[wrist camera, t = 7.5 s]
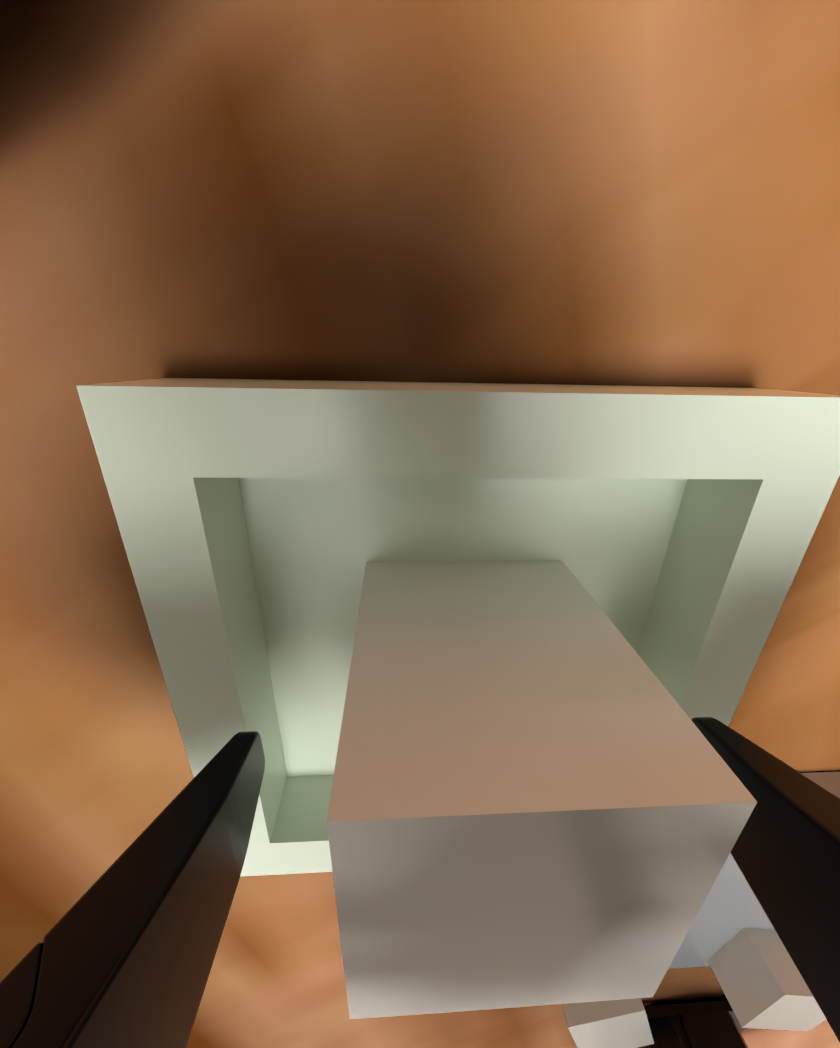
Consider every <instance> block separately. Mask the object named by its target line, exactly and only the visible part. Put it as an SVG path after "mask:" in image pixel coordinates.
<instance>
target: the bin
mask: <svg viewBox="0 0 840 1048" xmlns="http://www.w3.org/2000/svg"><path fill="white" fill-rule="evenodd" d="M76 387H77V391H78V394H79V397H80V401H81V404H82V407H83V411H84V414H85V417H86V421H87V424H88V427H89V431H90V434H91V437H92V441H93V444H94V447H95V451H96V454H97V457H98V460H99V464H100V467H101V470H102V474H103V477H104V480H105V484H106V487H107V490H108V494H109V497H110V500H111V504H112V507H113V510H114V514H115V517H116V520H117V524H118V527H119V530H120V534H121V537H122V540H123V544H124V547H125V550H126V554H127V557H128V560H129V564H130V567H131V570H132V574H133V577H134V580H135V584H136V587H137V590H138V594H139V597H140V600H141V604H142V607H143V610H144V614H145V617H146V620H147V624H148V627H149V630H150V634H151V637H152V640H153V644H154V647H155V650H156V654H157V657H158V660H159V664H160V667H161V670H162V674H163V677H164V680H165V683H166V687H167V690H168V693H169V697H170V700H171V703H172V707H173V710H174V713H175V717H176V720H177V723H178V727H179V730H180V733H181V737H182V740H183V743H184V747H185V750H186V753H187V757H188V760H189V763H190V767H191V770H192V773H193V777H195V776H196V775H197V774H198V773H199V772H200V771H201V770H202V769H203V768H204V767H205V766H206V765H207V764H208V763H209V761H210V760H211V759H212V758H213V757H214V756H215V755H216V754H217V753H218V752H219V751H220V750H221V749H222V748H223V747H224V746H225V745H226V743H227V742H228V741H229V740H230V739H231V738H232V737H233V736H234V735H235V734H237V733H238V732H245V731H257V732H259V734H260V736H261V741H262V746H263V751H264V756H265V770H264V775H263V780H262V784H261V789H260V793H259V798H258V803H257V807H256V812H255V816H254V821H253V826H252V830H251V835H250V839H249V844H248V848H247V853H246V857H245V861H244V865H243V868H242V872H241V875H240V876H259V875H278V874H297V873H317V872H333V871H332V863H331V854H330V845H329V837H328V828H327V816H328V810H329V803H330V797H331V790H332V784H333V777H334V770H335V764H336V757H337V751H338V744H339V737H340V731H341V724H342V718H343V711H344V704H345V698H346V691H347V685H348V678H349V671H350V665H351V658H352V652H353V645H354V638H355V632H356V625H357V619H358V612H359V605H360V599H361V592H362V586H363V579H364V572H365V566H366V562H453V561H558V560H562V561H563V562H564V563H565V565H566V566H567V567H568V568H569V570H570V571H571V572H572V573H573V575H574V576H575V577H576V578H577V580H578V581H579V582H580V583H581V585H582V586H583V587H584V588H585V589H586V591H587V592H588V593H589V594H590V596H591V597H592V598H593V599H594V601H595V602H596V603H597V604H598V606H599V607H600V608H601V609H602V610H603V612H604V613H605V614H606V615H607V617H608V618H609V619H610V620H611V622H612V623H613V624H614V625H615V627H616V628H617V629H618V630H619V632H620V633H621V634H622V635H623V636H624V638H625V639H626V640H627V641H628V643H629V644H630V645H631V646H632V648H633V649H634V650H635V651H636V653H637V654H638V655H639V656H640V657H641V659H642V660H643V661H644V662H645V664H646V665H647V666H648V667H649V669H650V670H651V671H652V672H653V674H654V675H655V676H656V677H657V679H658V680H659V681H660V682H661V683H662V685H663V686H664V687H665V688H666V690H667V691H668V692H669V693H670V695H671V696H672V697H673V698H674V700H675V701H676V702H677V703H678V704H679V706H680V707H681V708H682V709H683V711H684V712H685V713H686V714H687V716H688V717H689V718H690V719H692V718H694V717H712V718H715V719H717V720H719V721H720V722H722V723H723V724H725V725H726V726H729V724H730V722H731V719H732V717H733V715H734V712H735V710H736V708H737V706H738V703H739V701H740V699H741V697H742V694H743V692H744V690H745V688H746V685H747V683H748V681H749V679H750V676H751V674H752V672H753V670H754V667H755V665H756V663H757V661H758V658H759V656H760V654H761V651H762V649H763V647H764V645H765V642H766V640H767V638H768V636H769V633H770V631H771V629H772V627H773V624H774V622H775V620H776V618H777V615H778V613H779V611H780V609H781V606H782V604H783V602H784V600H785V597H786V595H787V593H788V591H789V588H790V586H791V584H792V581H793V579H794V577H795V575H796V572H797V570H798V568H799V566H800V563H801V561H802V559H803V557H804V554H805V552H806V550H807V548H808V545H809V543H810V541H811V539H812V536H813V534H814V532H815V530H816V527H817V525H818V523H819V520H820V518H821V516H822V514H823V511H824V509H825V507H826V505H827V502H828V500H829V498H830V496H831V493H832V491H833V489H834V487H835V484H836V482H837V480H838V478H839V475H840V395H834V394H822V393H811V392H799V391H788V390H776V389H765V388H740V387H681V386H622V385H563V384H504V383H445V382H385V381H326V380H267V379H208V378H154V379H142V380H131V381H120V382H109V383H98V384H87V385H76Z"/></svg>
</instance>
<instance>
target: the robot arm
mask: <svg viewBox="0 0 840 1048" xmlns="http://www.w3.org/2000/svg"><path fill="white" fill-rule="evenodd" d="M691 721H692V722H693V723H694V724H695V726H696V727H697V728H698V729H699V730H700V732H701V733H702V734H703V735H704V737H705V738H706V739H707V740H708V742H709V743H710V744H711V745H712V747H713V748H714V749H715V750H716V751H717V753H718V754H719V755H720V756H721V758H722V759H723V760H724V761H725V763H726V764H727V765H728V766H729V768H730V769H731V770H732V771H733V773H734V774H735V775H736V776H737V777H738V779H739V780H740V781H741V782H742V784H743V785H744V786H745V787H746V789H747V790H748V791H749V792H750V794H751V795H752V796H753V797H754V799H755V800H756V801H757V804H756V806H755V807H754V809H753V811H752V813H751V815H750V817H749V819H748V820H747V822H746V824H745V826H744V828H743V830H742V832H741V834H740V835H739V837H738V839H737V841H736V843H735V845H734V847H733V849H732V850H731V852H730V853H731V855H732V856H733V858H734V860H735V862H736V863H737V865H738V867H739V869H740V870H741V872H742V874H743V875H744V877H745V879H746V881H747V882H748V884H749V886H750V888H751V889H752V891H753V893H754V895H755V896H756V898H757V900H758V901H759V903H760V905H761V907H762V908H763V910H764V912H765V914H766V915H767V917H768V919H769V921H770V922H771V924H772V926H773V927H774V929H775V931H776V933H777V934H778V936H779V938H780V940H781V941H782V943H783V945H784V947H785V948H786V950H787V952H788V953H789V955H790V957H791V959H792V960H793V962H794V964H795V966H796V967H797V969H798V971H799V972H800V974H801V976H802V978H803V979H804V981H805V983H806V985H807V986H808V988H809V990H810V992H811V993H812V995H813V997H814V998H815V1000H816V1002H817V1004H818V1005H819V1007H820V1009H821V1011H822V1012H823V1014H824V1016H825V1018H826V1019H827V1021H828V1023H829V1024H830V1026H831V1028H832V1030H833V1031H834V1033H835V1035H836V1037H837V1038H838V1040H839V1042H840V798H838V797H837V796H835V795H834V794H832V793H831V792H829V791H827V790H826V789H824V788H823V787H821V786H820V785H818V784H817V783H815V782H813V781H812V780H810V779H809V778H807V777H806V776H804V775H803V774H801V773H800V772H798V771H796V770H795V769H793V768H792V767H790V766H789V765H787V764H786V763H784V762H782V761H781V760H779V759H778V758H776V757H775V756H773V755H772V754H770V753H768V752H767V751H765V750H764V749H762V748H761V747H759V746H758V745H756V744H754V743H753V742H751V741H750V740H748V739H747V738H745V737H744V736H742V735H740V734H739V733H737V732H736V731H734V730H733V729H731V728H730V727H728V726H726V725H725V724H723V723H722V722H720V721H719V720H717V719H715V718H712V717H694V718H692V719H691ZM264 770H265V756H264V751H263V746H262V741H261V736H260V734H259V732H257V731H245V732H238V733H237V734H235V735H234V736H233V737H232V738H231V739H230V740H229V741H228V742H227V743H226V745H225V746H224V747H223V748H222V749H221V750H220V751H219V752H218V753H217V754H216V755H215V756H214V757H213V758H212V759H211V760H210V761H209V763H208V764H207V765H206V766H205V767H204V768H203V769H202V770H201V771H200V772H199V773H198V774H197V775H196V776H195V777H194V778H193V779H192V781H191V782H190V783H189V784H188V785H187V786H186V787H185V788H184V789H183V790H182V791H181V792H180V793H179V794H178V795H177V796H176V798H175V799H174V800H173V801H172V802H171V803H170V804H169V805H168V806H167V807H166V808H165V809H164V810H163V811H162V812H161V813H160V814H159V816H158V817H157V818H156V819H155V820H154V821H153V822H152V823H151V824H150V825H149V826H148V827H147V828H146V829H145V830H144V831H143V832H142V834H141V835H140V836H139V837H138V838H137V839H136V840H135V841H134V842H133V843H132V844H131V845H130V846H129V847H128V848H127V849H126V851H125V852H124V853H123V854H122V855H121V856H120V857H119V858H118V859H117V860H116V861H115V862H114V863H113V864H112V865H111V866H110V867H109V869H108V870H107V871H106V872H105V873H104V874H103V875H102V876H101V877H100V878H99V879H98V880H97V881H96V882H95V883H94V884H93V885H92V887H91V888H90V889H89V890H88V891H87V892H86V893H85V894H84V895H83V896H82V897H81V898H80V899H79V900H78V901H77V902H76V904H75V905H74V906H73V907H72V908H71V909H70V910H69V911H68V912H67V913H66V914H65V915H64V916H63V917H62V918H61V919H60V920H59V922H58V923H57V924H56V925H55V926H54V927H53V928H52V929H51V930H50V931H49V932H48V933H47V934H46V935H45V937H44V940H43V942H39V943H38V944H37V945H36V946H35V947H34V948H33V949H32V950H31V951H30V952H29V953H28V954H27V955H26V956H25V957H24V958H23V959H22V960H21V962H20V963H19V964H18V965H17V966H16V967H15V968H14V969H13V970H12V971H11V972H10V973H9V974H8V975H7V976H6V977H5V978H4V979H3V980H2V981H1V982H0V1048H186V1046H187V1043H188V1040H189V1037H190V1034H191V1031H192V1027H193V1024H194V1021H195V1018H196V1015H197V1012H198V1008H199V1005H200V1002H201V999H202V996H203V993H204V989H205V986H206V983H207V980H208V977H209V974H210V970H211V967H212V964H213V961H214V958H215V954H216V951H217V948H218V945H219V942H220V939H221V935H222V932H223V929H224V926H225V923H226V920H227V916H228V913H229V910H230V907H231V904H232V901H233V897H234V894H235V891H236V888H237V885H238V882H239V878H240V875H241V872H242V868H243V865H244V861H245V857H246V853H247V848H248V844H249V839H250V835H251V830H252V826H253V821H254V816H255V812H256V807H257V803H258V798H259V793H260V789H261V784H262V780H263V775H264ZM644 1008H645V1011H646V1015H647V1019H648V1022H649V1026H650V1030H651V1034H652V1037H653V1041H654V1044H651V1045H647V1046H642V1047H637V1048H748V1047H747V1045H746V1043H745V1041H744V1039H743V1037H742V1035H741V1033H740V1032H741V1031H742V1030H743V1029H744V1028H742V1027H741V1025H740V1023H739V1021H738V1019H737V1017H736V1015H735V1013H734V1011H733V1009H732V1007H731V1006H730V1004H729V1002H728V1000H725V1001H712V1002H698V1003H685V1004H671V1005H657V1006H647V1007H644Z"/></svg>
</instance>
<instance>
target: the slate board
mask: <svg viewBox="0 0 840 1048" xmlns="http://www.w3.org/2000/svg"><path fill="white" fill-rule="evenodd" d="M801 774H803V775H804V776H806V777H807V778H809V779H810V780H812V781H813V782H815V783H817V784H818V785H820V786H821V787H823V788H824V789H826V790H827V791H829V792H831V793H832V794H834V795H835V796H837V797H838V798H840V772H815V773H801ZM705 966H710V967H711V969H712V970H713V972H714V974H715V976H716V978H717V980H718V982H719V984H720V986H721V988H722V990H723V992H724V994H725V996H726V998H727V1000H728V1002H729V1004H730V1006H731V1007H732V1009H733V1011H734V1013H735V1015H736V1017H737V1019H738V1021H739V1023H740V1025H741V1027H742V1028H755V1029H777V1030H798V1031H810V1030H811V1029H813V1028H814V1027H816V1026H817V1025H819V1024H820V1023H822V1022H823V1021H825V1020H826V1018H825V1016H824V1014H823V1012H822V1011H821V1009H820V1007H819V1005H818V1004H817V1002H816V1000H815V998H814V997H813V995H812V993H811V992H810V990H809V988H808V986H807V985H806V983H805V981H804V979H803V978H802V976H801V974H800V972H799V971H798V969H797V967H796V966H795V964H794V962H793V960H792V959H791V957H790V955H789V953H788V952H787V950H786V948H785V947H784V945H783V943H782V941H781V940H780V938H779V936H778V934H777V933H776V931H775V929H774V927H773V926H772V924H771V922H770V921H769V919H768V917H767V915H766V914H765V912H764V910H763V908H762V907H761V905H760V903H759V901H758V900H757V898H756V896H755V895H754V893H753V891H752V889H751V888H750V886H749V884H748V882H747V881H746V879H745V877H744V875H743V874H742V872H741V870H740V869H739V867H738V865H737V863H736V862H735V860H734V858H733V856H732V855H731V853H730V854H729V856H728V858H727V860H726V862H725V863H724V865H723V867H722V869H721V871H720V873H719V875H718V877H717V878H716V880H715V882H714V884H713V886H712V888H711V890H710V891H709V893H708V895H707V897H706V899H705V901H704V903H703V905H702V906H701V908H700V910H699V912H698V914H697V916H696V918H695V920H694V921H693V923H692V925H691V927H690V929H689V931H688V933H687V934H686V936H685V938H684V940H683V942H682V944H681V946H680V948H679V949H678V951H677V953H676V955H675V957H674V959H673V961H672V963H671V964H670V966H669V968H668V969H675V968H690V967H705ZM562 1006H563V1010H564V1014H565V1018H566V1022H567V1026H568V1029H569V1031H570V1033H571V1035H572V1037H573V1039H574V1041H575V1043H576V1045H577V1048H637V1047H642V1046H647V1045H651V1044H654V1041H653V1037H652V1034H651V1030H650V1026H649V1022H648V1019H647V1015H646V1011H645V1008H644V1006H643V1003H642V1000H641V998H636V999H623V1000H609V1001H595V1002H582V1003H568V1004H562Z"/></svg>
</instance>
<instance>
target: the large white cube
mask: <svg viewBox="0 0 840 1048" xmlns="http://www.w3.org/2000/svg"><path fill="white" fill-rule="evenodd" d="M756 804H757V801H756V800H755V799H754V797H753V796H752V795H751V794H750V792H749V791H748V790H747V789H746V787H745V786H744V785H743V784H742V782H741V781H740V780H739V779H738V777H737V776H736V775H735V774H734V773H733V771H732V770H731V769H730V768H729V766H728V765H727V764H726V763H725V761H724V760H723V759H722V758H721V756H720V755H719V754H718V753H717V751H716V750H715V749H714V748H713V747H712V745H711V744H710V743H709V742H708V740H707V739H706V738H705V737H704V735H703V734H702V733H701V732H700V730H699V729H698V728H697V727H696V726H695V724H694V723H693V722H692V721H691V719H690V718H689V717H688V716H687V714H686V713H685V712H684V711H683V709H682V708H681V707H680V706H679V704H678V703H677V702H676V701H675V700H674V698H673V697H672V696H671V695H670V693H669V692H668V691H667V690H666V688H665V687H664V686H663V685H662V683H661V682H660V681H659V680H658V679H657V677H656V676H655V675H654V674H653V672H652V671H651V670H650V669H649V667H648V666H647V665H646V664H645V662H644V661H643V660H642V659H641V657H640V656H639V655H638V654H637V653H636V651H635V650H634V649H633V648H632V646H631V645H630V644H629V643H628V641H627V640H626V639H625V638H624V636H623V635H622V634H621V633H620V632H619V630H618V629H617V628H616V627H615V625H614V624H613V623H612V622H611V620H610V619H609V618H608V617H607V615H606V614H605V613H604V612H603V610H602V609H601V608H600V607H599V606H598V604H597V603H596V602H595V601H594V599H593V598H592V597H591V596H590V594H589V593H588V592H587V591H586V589H585V588H584V587H583V586H582V585H581V583H580V582H579V581H578V580H577V578H576V577H575V576H574V575H573V573H572V572H571V571H570V570H569V568H568V567H567V566H566V565H565V563H564V562H563V561H562V560H558V561H453V562H366V566H365V572H364V579H363V586H362V592H361V599H360V605H359V612H358V619H357V625H356V632H355V638H354V645H353V652H352V658H351V665H350V671H349V678H348V685H347V691H346V698H345V704H344V711H343V718H342V724H341V731H340V737H339V744H338V751H337V757H336V764H335V770H334V777H333V784H332V790H331V797H330V803H329V810H328V816H327V828H328V837H329V845H330V854H331V863H332V871H333V880H334V888H335V897H336V905H337V914H338V923H339V931H340V940H341V948H342V957H343V965H344V974H345V983H346V991H347V1000H348V1008H349V1017H350V1019H363V1018H376V1017H390V1016H404V1015H417V1014H431V1013H445V1012H458V1011H472V1010H486V1009H500V1008H513V1007H527V1006H541V1005H554V1004H568V1003H582V1002H595V1001H609V1000H623V999H636V998H650V997H653V996H654V994H655V992H656V991H657V989H658V987H659V985H660V983H661V981H662V979H663V977H664V976H665V974H666V972H667V970H668V968H669V966H670V964H671V963H672V961H673V959H674V957H675V955H676V953H677V951H678V949H679V948H680V946H681V944H682V942H683V940H684V938H685V936H686V934H687V933H688V931H689V929H690V927H691V925H692V923H693V921H694V920H695V918H696V916H697V914H698V912H699V910H700V908H701V906H702V905H703V903H704V901H705V899H706V897H707V895H708V893H709V891H710V890H711V888H712V886H713V884H714V882H715V880H716V878H717V877H718V875H719V873H720V871H721V869H722V867H723V865H724V863H725V862H726V860H727V858H728V856H729V854H730V852H731V850H732V849H733V847H734V845H735V843H736V841H737V839H738V837H739V835H740V834H741V832H742V830H743V828H744V826H745V824H746V822H747V820H748V819H749V817H750V815H751V813H752V811H753V809H754V807H755V806H756Z"/></svg>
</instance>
